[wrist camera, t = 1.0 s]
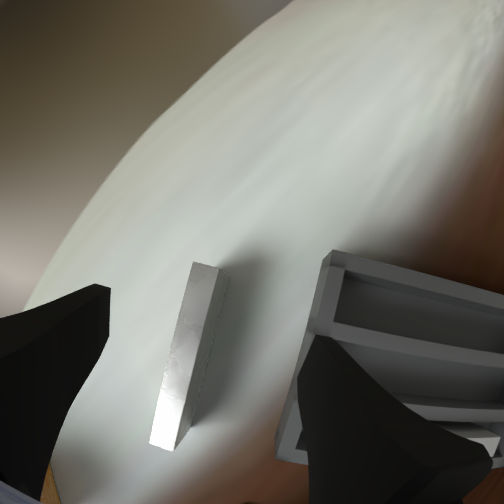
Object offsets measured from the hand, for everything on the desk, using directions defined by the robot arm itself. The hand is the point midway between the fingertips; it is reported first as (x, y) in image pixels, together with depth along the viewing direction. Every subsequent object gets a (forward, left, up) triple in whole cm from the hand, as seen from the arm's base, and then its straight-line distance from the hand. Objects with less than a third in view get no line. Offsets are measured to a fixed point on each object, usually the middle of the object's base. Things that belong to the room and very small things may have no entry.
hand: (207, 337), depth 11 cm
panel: (-3, +3, -13) cm, 13 cm away
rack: (-1, -14, -12) cm, 19 cm away
